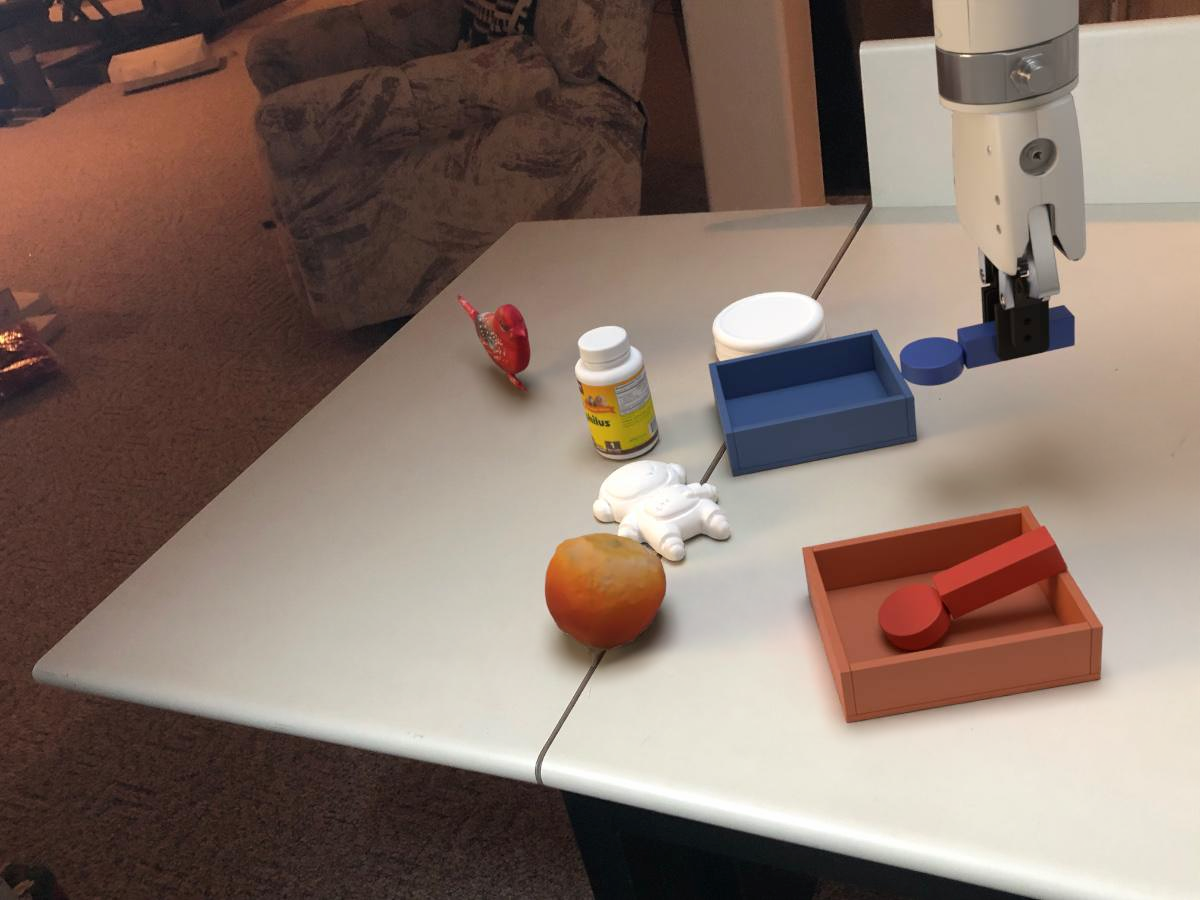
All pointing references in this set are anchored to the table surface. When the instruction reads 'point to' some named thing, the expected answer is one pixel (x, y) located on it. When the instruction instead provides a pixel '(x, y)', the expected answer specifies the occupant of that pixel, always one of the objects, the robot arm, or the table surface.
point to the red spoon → (968, 588)
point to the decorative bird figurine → (503, 338)
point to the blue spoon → (971, 349)
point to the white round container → (767, 324)
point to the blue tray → (812, 402)
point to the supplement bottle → (615, 394)
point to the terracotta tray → (972, 642)
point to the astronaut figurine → (660, 506)
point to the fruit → (603, 590)
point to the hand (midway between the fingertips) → (1015, 343)
